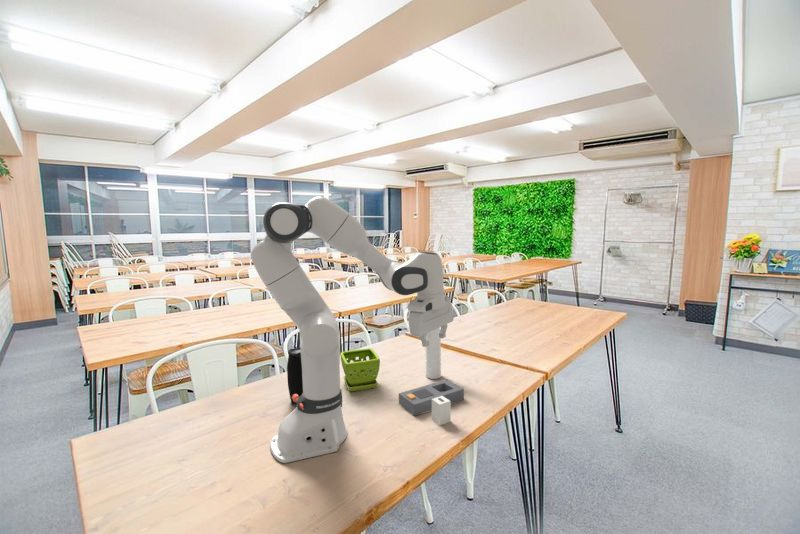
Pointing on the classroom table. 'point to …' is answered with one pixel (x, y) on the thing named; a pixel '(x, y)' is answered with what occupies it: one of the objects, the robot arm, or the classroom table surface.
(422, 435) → the classroom table surface
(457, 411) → the classroom table surface
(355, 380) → the flower pot
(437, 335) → the water bottle
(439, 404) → the block
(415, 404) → the power strip
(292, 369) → the portable speaker
